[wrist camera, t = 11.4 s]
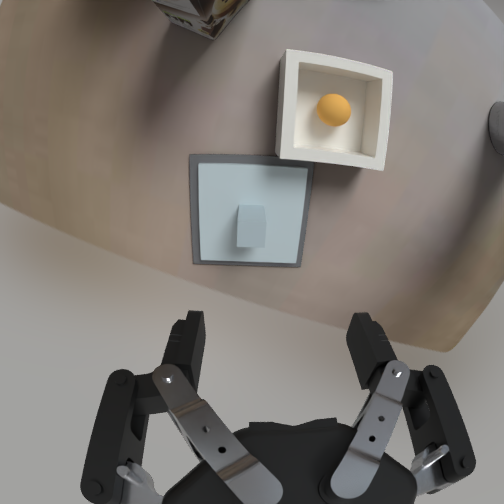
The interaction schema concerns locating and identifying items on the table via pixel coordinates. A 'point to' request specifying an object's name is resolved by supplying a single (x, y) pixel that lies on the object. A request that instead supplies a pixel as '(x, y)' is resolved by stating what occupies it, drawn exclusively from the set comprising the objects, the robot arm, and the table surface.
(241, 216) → the lid
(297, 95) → the dish
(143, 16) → the table surface
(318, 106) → the clementine
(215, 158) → the mat
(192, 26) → the coffee box
